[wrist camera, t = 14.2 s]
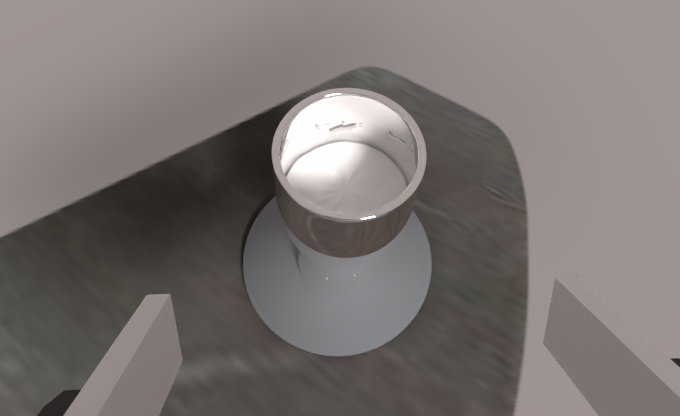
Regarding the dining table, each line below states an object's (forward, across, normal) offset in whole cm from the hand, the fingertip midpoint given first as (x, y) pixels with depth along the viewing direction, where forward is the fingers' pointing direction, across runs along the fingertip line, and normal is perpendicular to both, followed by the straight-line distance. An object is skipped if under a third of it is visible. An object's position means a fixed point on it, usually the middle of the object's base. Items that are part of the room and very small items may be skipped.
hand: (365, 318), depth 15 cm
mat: (+16, 0, -6) cm, 18 cm away
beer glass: (+16, 0, -6) cm, 17 cm away
